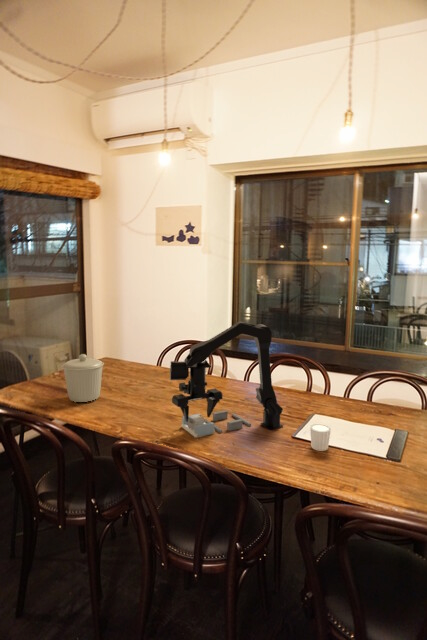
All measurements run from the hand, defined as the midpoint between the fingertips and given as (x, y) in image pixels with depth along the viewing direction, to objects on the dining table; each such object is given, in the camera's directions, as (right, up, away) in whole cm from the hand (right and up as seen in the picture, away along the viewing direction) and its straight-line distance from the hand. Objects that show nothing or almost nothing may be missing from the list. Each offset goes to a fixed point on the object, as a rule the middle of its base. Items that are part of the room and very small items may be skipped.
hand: (197, 419), depth 158 cm
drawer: (0, -4, +1) cm, 4 cm away
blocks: (+11, -3, +7) cm, 14 cm away
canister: (-53, +1, +34) cm, 63 cm away
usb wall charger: (0, -3, +1) cm, 3 cm away
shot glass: (+43, -7, -13) cm, 45 cm away
